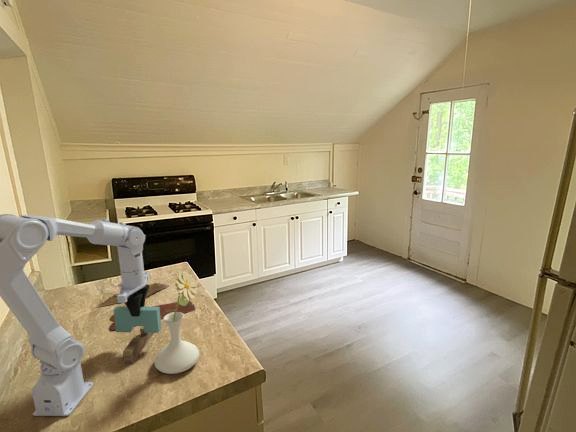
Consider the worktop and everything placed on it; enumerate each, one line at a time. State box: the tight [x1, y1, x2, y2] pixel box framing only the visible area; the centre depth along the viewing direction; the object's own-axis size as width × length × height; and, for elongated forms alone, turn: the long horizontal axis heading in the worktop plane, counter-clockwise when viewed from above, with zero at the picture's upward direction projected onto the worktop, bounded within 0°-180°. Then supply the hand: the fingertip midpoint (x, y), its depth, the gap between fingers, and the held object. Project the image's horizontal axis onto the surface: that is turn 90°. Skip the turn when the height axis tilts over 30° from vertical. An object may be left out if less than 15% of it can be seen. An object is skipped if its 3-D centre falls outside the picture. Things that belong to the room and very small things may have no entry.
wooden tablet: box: [109, 300, 196, 332], centre depth 110 cm, size 27×10×2 cm, turn 117°
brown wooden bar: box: [122, 326, 154, 365], centre depth 93 cm, size 16×2×4 cm, turn 0°
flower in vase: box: [154, 271, 201, 375], centre depth 84 cm, size 13×11×25 cm
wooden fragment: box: [95, 282, 170, 308], centre depth 123 cm, size 26×11×1 cm, turn 128°
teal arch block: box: [113, 305, 162, 334], centre depth 92 cm, size 12×2×7 cm, turn 90°
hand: (137, 313), depth 91 cm, fingers closed on teal arch block, 2 cm apart
